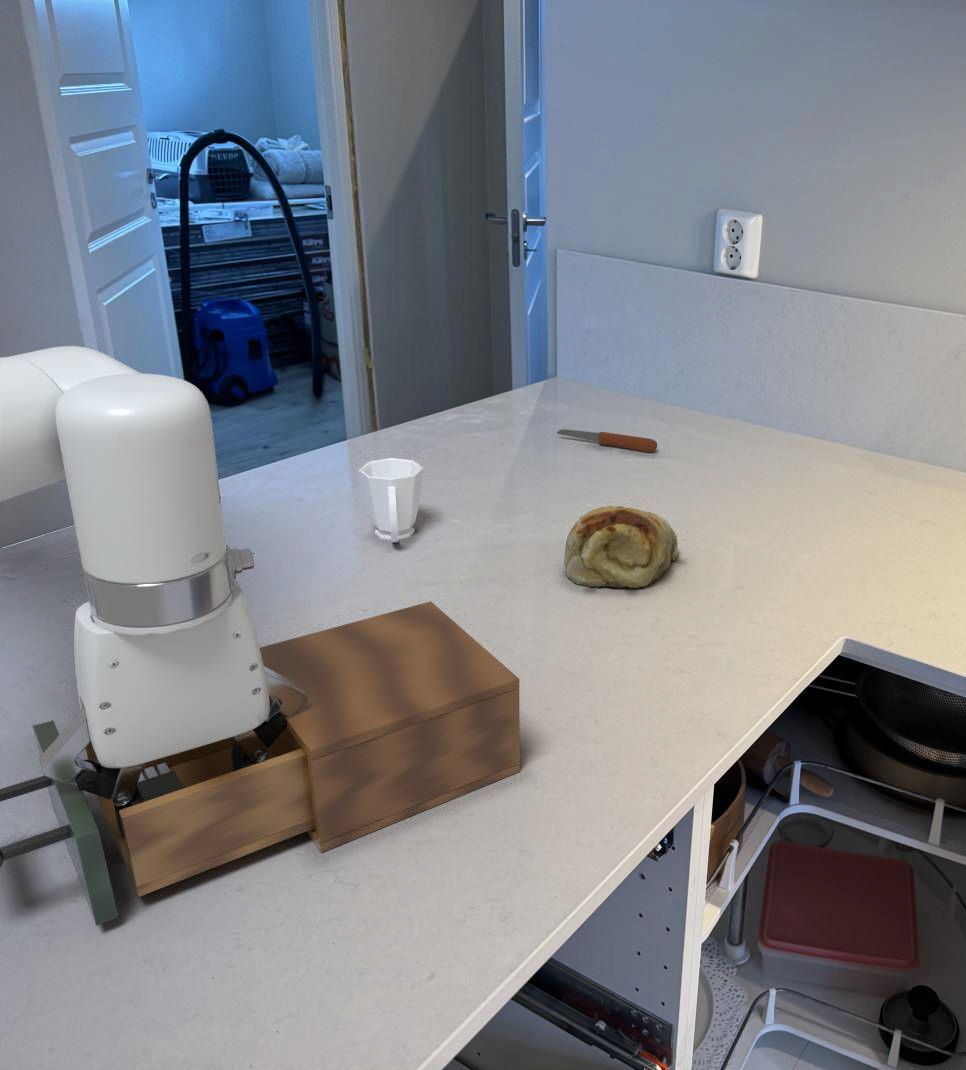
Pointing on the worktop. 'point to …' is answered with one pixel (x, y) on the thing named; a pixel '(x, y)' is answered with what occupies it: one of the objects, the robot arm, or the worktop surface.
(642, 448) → the kitchen knife
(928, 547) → the worktop surface
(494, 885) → the worktop surface
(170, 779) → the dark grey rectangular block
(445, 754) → the cabinet
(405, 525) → the cup
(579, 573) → the pastry
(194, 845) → the drawer
